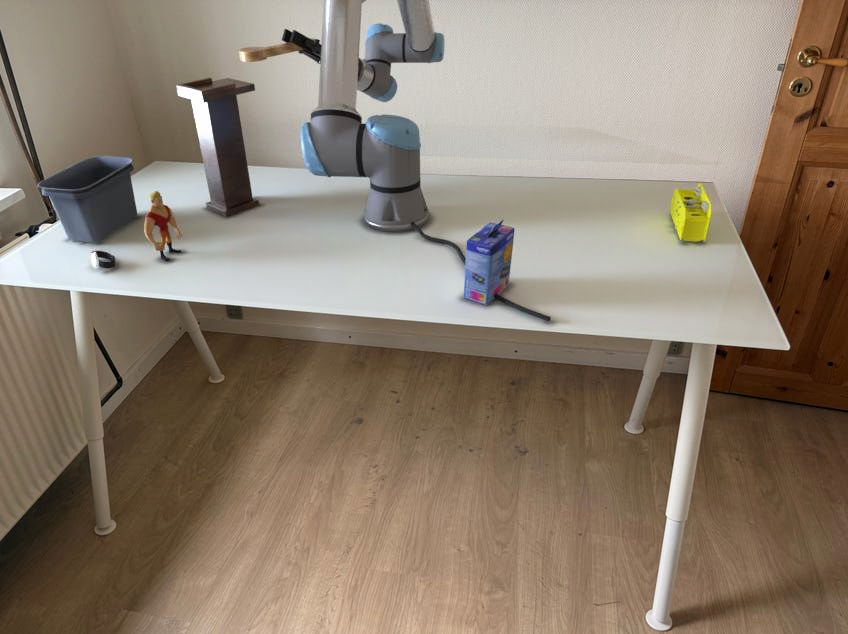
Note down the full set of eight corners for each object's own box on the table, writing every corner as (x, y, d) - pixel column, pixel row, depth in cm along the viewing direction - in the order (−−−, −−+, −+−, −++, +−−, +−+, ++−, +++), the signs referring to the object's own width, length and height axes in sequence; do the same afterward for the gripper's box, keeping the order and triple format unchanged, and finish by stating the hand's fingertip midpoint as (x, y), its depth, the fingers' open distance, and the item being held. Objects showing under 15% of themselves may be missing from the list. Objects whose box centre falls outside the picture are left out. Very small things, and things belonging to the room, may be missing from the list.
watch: (87, 263, 150) (83, 247, 147) (108, 256, 152) (104, 241, 150) (101, 274, 145) (96, 258, 142) (122, 267, 147) (117, 252, 145)
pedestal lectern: (246, 193, 181) (227, 73, 164) (271, 202, 174) (253, 79, 158) (201, 208, 173) (175, 84, 156) (225, 219, 167) (201, 91, 150)
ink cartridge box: (488, 306, 126) (492, 234, 118) (462, 299, 129) (464, 228, 121) (511, 284, 133) (516, 214, 125) (486, 278, 136) (489, 209, 128)
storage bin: (98, 250, 155) (80, 189, 147) (43, 243, 159) (22, 184, 151) (153, 214, 171) (139, 158, 163) (102, 209, 176) (85, 154, 168)
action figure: (163, 266, 146) (147, 199, 138) (150, 264, 148) (132, 197, 139) (189, 248, 154) (175, 183, 145) (176, 246, 155) (161, 182, 146)
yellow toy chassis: (706, 245, 144) (715, 207, 139) (678, 243, 145) (686, 206, 140) (694, 215, 157) (702, 180, 152) (667, 214, 158) (675, 179, 153)
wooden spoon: (306, 45, 174) (305, 35, 173) (322, 47, 170) (321, 37, 169) (234, 60, 162) (233, 50, 160) (250, 63, 158) (249, 52, 157)
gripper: (338, 53, 188) (273, 16, 170) (377, 60, 178) (313, 21, 160) (329, 81, 189) (264, 47, 171) (368, 89, 180) (304, 54, 162)
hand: (288, 35), depth 166 cm, fingers closed on wooden spoon, 3 cm apart
